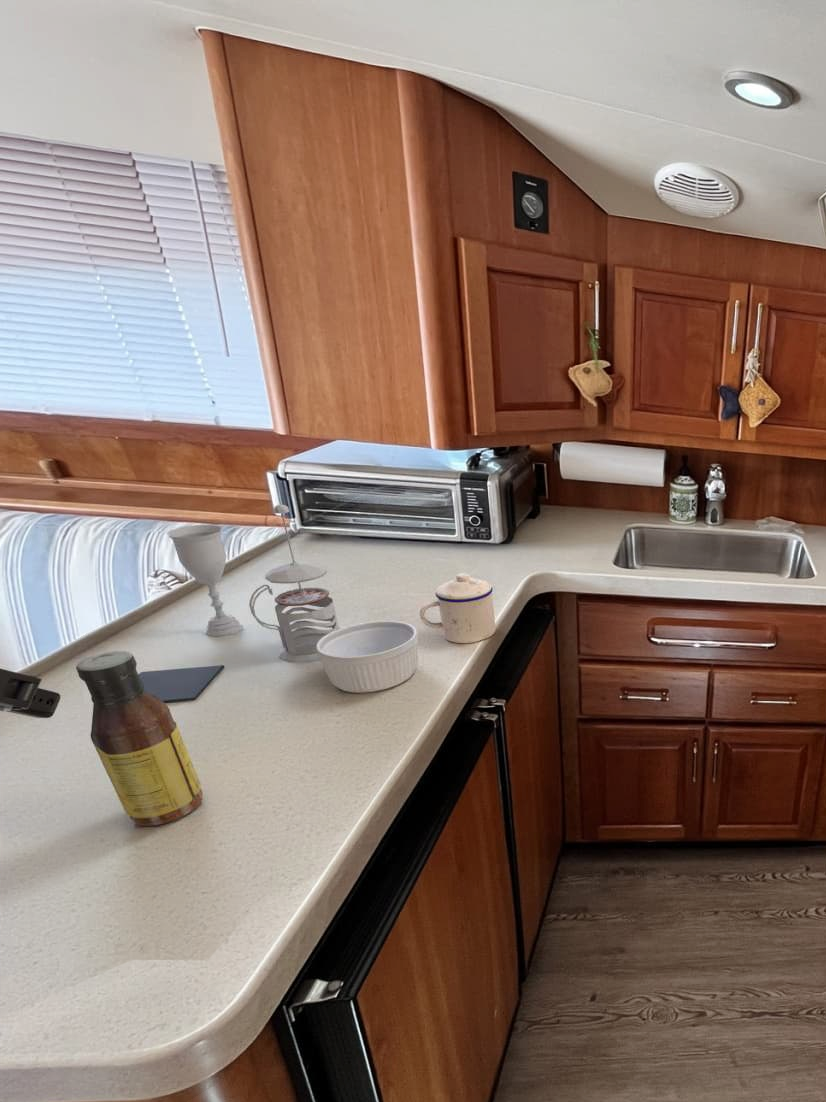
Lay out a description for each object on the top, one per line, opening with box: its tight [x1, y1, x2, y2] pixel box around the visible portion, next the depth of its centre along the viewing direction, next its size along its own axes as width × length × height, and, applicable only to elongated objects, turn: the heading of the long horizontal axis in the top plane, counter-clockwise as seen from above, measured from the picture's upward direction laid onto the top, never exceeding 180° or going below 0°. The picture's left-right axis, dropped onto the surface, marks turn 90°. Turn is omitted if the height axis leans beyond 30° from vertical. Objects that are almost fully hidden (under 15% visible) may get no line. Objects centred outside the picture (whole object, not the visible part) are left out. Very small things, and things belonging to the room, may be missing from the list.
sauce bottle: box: [75, 650, 203, 827], centre depth 68 cm, size 7×6×20 cm
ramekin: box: [316, 620, 419, 694], centre depth 100 cm, size 13×13×7 cm
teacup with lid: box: [418, 572, 497, 644], centre depth 114 cm, size 12×9×12 cm
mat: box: [138, 664, 225, 704], centre depth 94 cm, size 10×10×1 cm
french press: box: [249, 504, 340, 663], centre depth 102 cm, size 10×12×25 cm
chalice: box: [166, 524, 244, 637], centre depth 107 cm, size 7×7×18 cm
